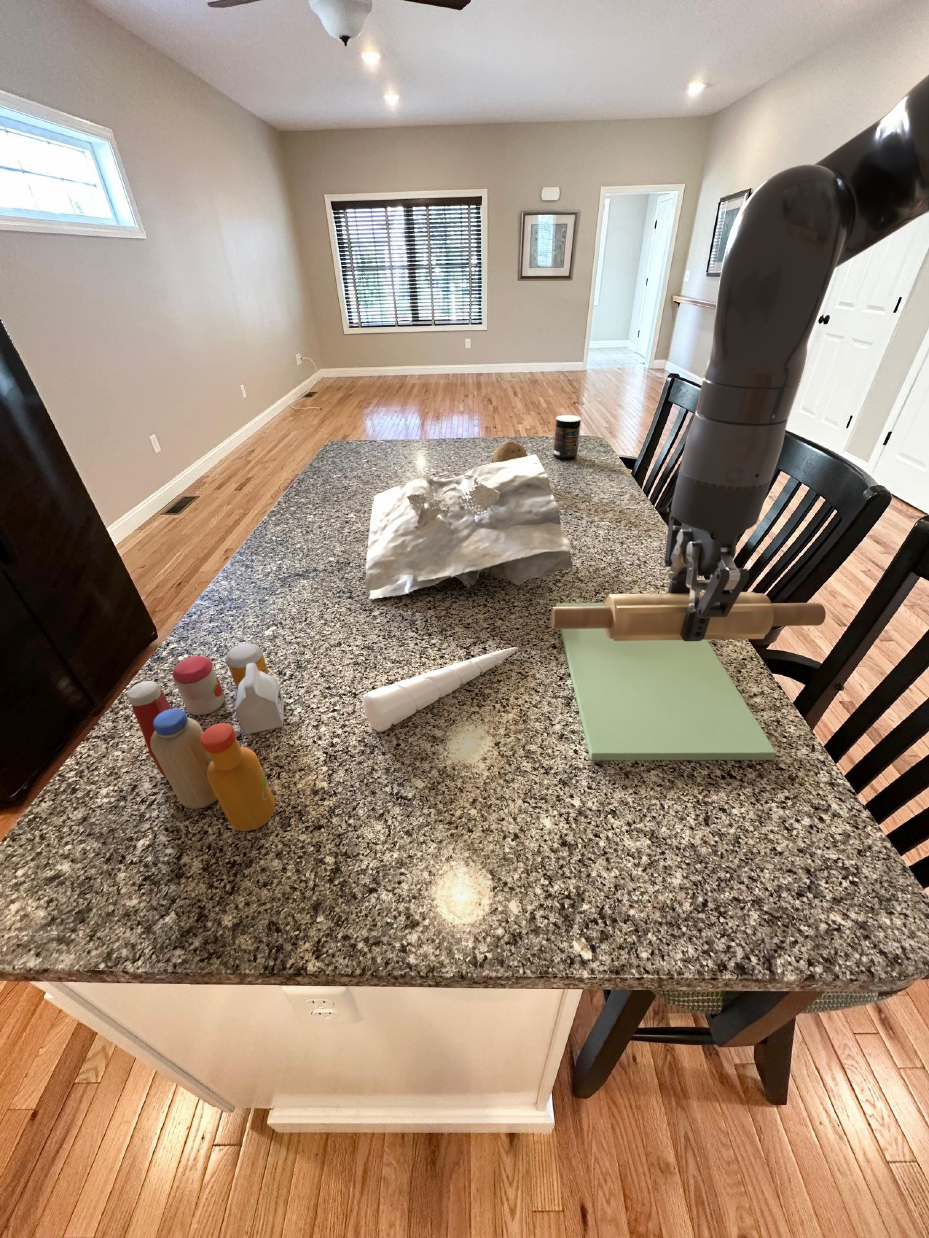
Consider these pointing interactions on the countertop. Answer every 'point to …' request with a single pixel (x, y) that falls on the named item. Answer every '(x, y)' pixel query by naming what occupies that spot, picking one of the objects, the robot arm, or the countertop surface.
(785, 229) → the robot arm
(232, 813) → the toy food
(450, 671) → the unicorn horn
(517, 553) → the white terrain model
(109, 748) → the countertop surface
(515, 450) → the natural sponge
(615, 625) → the rolling pin
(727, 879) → the countertop surface
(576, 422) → the supplement container
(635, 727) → the pastry board
